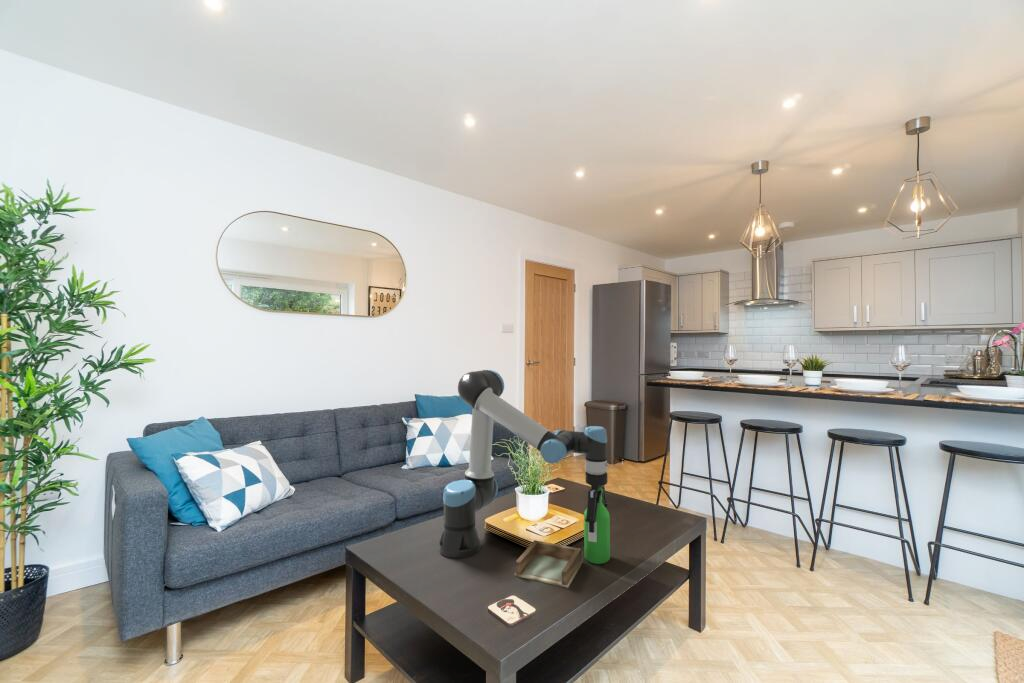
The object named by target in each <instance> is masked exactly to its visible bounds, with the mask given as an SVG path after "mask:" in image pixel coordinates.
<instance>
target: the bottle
mask: <svg viewBox="0 0 1024 683" xmlns="http://www.w3.org/2000/svg"><path fill="white" fill-rule="evenodd" d="M600 490H602V492H603V489H602V487H601V486H600V488H599V491H600ZM598 494H599V493H598ZM610 514H611V513H610V512H609V511H608V509H607V507H605V506H604V505H603V503H602V494H601V496H600V503H598V507H597V514H596V525H597V542H592V541H588V522H586V521H585V519H586V516H587V508H586V509H585V510H584V512H583V529H584V530H583V531H584V532H583V536H584V537H583V539H584V540H583V541H584V542H583V543H584V547H583V551H584V559H586V561H588V562H589V563H592V564H596V565H602V564H606V563H607V562H608V561H610V559H611V535H610V534H611V530H610V528H611V524H610V522H611V520H610V518H611V517H610ZM591 519H592V518H591Z"/></svg>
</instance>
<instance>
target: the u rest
mask: <svg viewBox="0 0 1024 683" xmlns="http://www.w3.org/2000/svg"><path fill="white" fill-rule="evenodd" d="M583 562H584V561H583V560H582V549H581V548H578V547H573V546H567V545H562V544H557V543H552V542H546V541H541V540H536V539H534V540H533V541H532V542H531V544H529V546H528V547H527V548H526V549H525V550H524V551H523V553H522V554H520V556H519V557H518V558H517V559H516V561H515V573H514V574H513V576H515V577H519V578H523V579H528V580H532V581H537V582H540V583H545V584H550V585H554V586H558V587H562V588H567V589H568V588H569V587H570V585H571V584H572V582H573V580H574V578H575V576H576V575H577V573H578V571H579V570H580V568H581V566H582V564H583Z"/></svg>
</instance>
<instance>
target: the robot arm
mask: <svg viewBox="0 0 1024 683" xmlns="http://www.w3.org/2000/svg"><path fill="white" fill-rule="evenodd" d="M504 390H505V383H504V379H503V377H502V376H501V375H500V374H499V373H498V371H495V370H492V369H482V370H476V371H470V372H467V373H465V374H464V375H462V376H461V378H460V379H459V381H458V385H457V392H458V394H459V397H460V398H461V400H462V401H463V402H464V403H465V404H466V405H468V406H469V407H470V408H471V409H472V410H471V413H472V414H471V430H470V444H469V445H470V447H469V462H468V468H467V469H466V470H465V471H464V479H458V480H453V481H451V482H449V483H448V484H446V486H445V487H444V489H443V495H442V502H443V504H442V505H443V530H442V532H441V535H440V539H439V543H438V552H439V553H440V554H441V555H442V556H444V557H447V558H452V559H460V558H461V559H463V558H467V557H470V556H474V555H475V554H477V553H478V552H479V551H481V539H480V537H479V536H480V535H479V533H478V532H479V531H478V530H477V529H478V528H477V527H476V526H477V525H476V513H477V512H479V511H480V510H482V509H483V508H484V507H486V506H489V505H490V504H491V503H492V502H493V501H494V500H495V498H496V497H497V494H498V491H499V485H498V482H497V480H496V478H495V472H494V471H493V469H492V453H493V437H494V436H493V435H494V423H495V422H497V423H499V424H500V425H501V426H502V427H504V428H506V429H507V430H509V431H510V432H511V433H513V434H514V435H516V436H517V437H519V438H520V439H522V440H523V441H524V442H525V443H527V444H528V445H530V446H531V447H533V448H534V449H535V450H537V451H539V453H540V456H541V457H542V459H543V461H545V462H546V463H548V464H556V463H560V462H561V461H563V460H564V459H565V458H566V457H567V456H569V455H570V454H572V453H574V454H584V456H585V458H584V460H585V463H584V464H585V465H584V470H585V471H586V472H585V483H586V484H587V485H590V488H589V490H588V491H587V494H588V495H587V497H588V498H587V505H586V506H587V508H586V509H587V516H586V519H585V521H586V522H588V541H592V542H597V525H596V514H597V507H598V503H600V496H601V494H602V503H603V505H604V506H605V508H608V505H609V504H608V503H607V496H606V495H607V494H606V488H605V486H606V485H607V484H608V481H609V480H608V473H607V472H608V467H609V466H610V463H608V435H607V433H608V432H607V430H606V428H605V427H603V426H598V425H594V426H593V425H590V426H586V427H585V428H584V431H576V430H575V431H574V430H565V429H556V430H553V432H552V431H550V430H549V429H548V428H546V427H545V426H543V425H542V424H540V423H539V422H537V421H535V420H534V419H532V418H531V417H530V416H528V415H527V414H526V413H524V412H523V411H521V410H519V409H518V408H516V407H515V406H513V405H512V404H510V403H508V402H507V401H506V400H504V399H503V398H501V395H502V394H503V393H504ZM494 421H495V422H494ZM600 486H601V487H602V489H603V492H602V490H600V491H599V488H600ZM598 493H599V494H598ZM591 518H592V519H591Z"/></svg>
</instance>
